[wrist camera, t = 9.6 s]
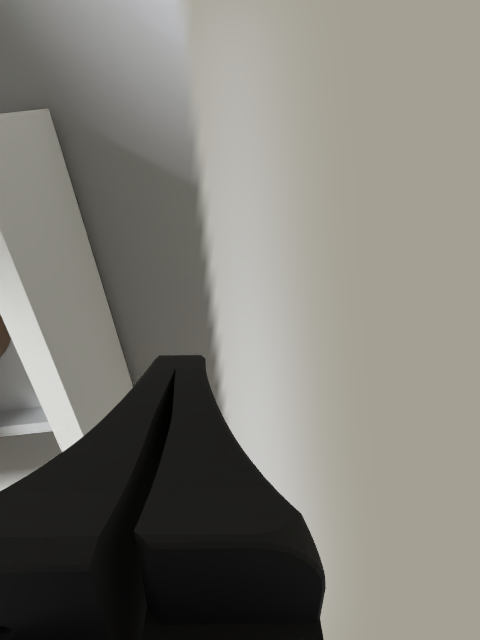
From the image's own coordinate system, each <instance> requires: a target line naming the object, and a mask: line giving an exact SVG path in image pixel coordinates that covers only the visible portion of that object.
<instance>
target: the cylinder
mask: <svg viewBox="0 0 480 640" xmlns="http://www.w3.org/2000/svg"><path fill="white" fill-rule="evenodd" d="M10 340H11V337H10V335H9V333H8V330H7V328H6V326H5V324H4V321H3V319H2V317H1V315H0V357H1V356H2V355H3V354H4V352H5V351H6V350H7V348H8V346H9V344H10Z"/></svg>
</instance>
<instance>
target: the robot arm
mask: <svg viewBox="0 0 480 640" xmlns="http://www.w3.org/2000/svg"><path fill="white" fill-rule="evenodd" d="M324 593H325V574H324V570H323V566H322V563H321V560H320V557H319V553H318V551H317V548H316V545H315V543H314V540H313V538H312V536H311V534H310V531H309V529H308V527H307V525H306V523H305V521H304V519H303V516H302V514H301V513H300V512H299V511H298V510H296V509H295V508H294V507H293V506H292V505H291V504H290V503H289V502H288V501H287V500H286V499H285V498H284V497H283V496H282V495H281V494H280V493H279V492H277V490H276V489H275V488H274V487H273V486H272V485H271V484H270V483H269V482H268V481H267V480H266V479H265V478H264V476H263V475H262V474H261V472H259V470H258V469H257V468H256V466H255V465H254V464H253V462H252V461H251V460H250V459H249V457H248V456H247V455H246V454H245V452H244V451H243V449H242V448H241V446H240V445H239V443H238V442H237V440H236V439H235V437H234V436H233V434H232V432H231V431H230V429H229V427H228V425H227V424H226V422H225V420H224V418H223V416H222V414H221V412H220V410H219V408H218V405H217V403H216V401H215V398H214V396H213V393H212V391H211V388H210V385H209V382H208V378H207V374H206V365H205V358H204V357H203V356H201V355H179V356H158V357H157V358H156V359H155V360H154V362H153V363H152V364H151V366H150V367H149V368H148V369H147V371H146V372H145V373H144V375H143V376H142V377H141V378H140V379H139V381H138V382H137V383H136V384H135V385H134V386H133V388H132V389H131V390H130V391H129V392H128V393H127V394H126V396H125V397H124V398H123V399H122V400H121V401H120V402H119V403H118V404H117V405H116V406H115V407H114V408H113V409H112V410H111V411H110V412H109V413H108V414H107V415H106V416H105V417H104V418H103V419H102V420H101V421H100V422H99V423H98V424H97V425H96V426H95V427H94V428H92V429H91V430H90V431H89V432H88V433H87V434H85V435H84V436H83V437H82V438H81V439H79V440H78V441H77V442H76V443H74V444H73V445H72V446H70V447H69V448H67V449H66V450H65V451H63V452H62V453H60V454H59V455H58V456H56V457H55V458H53V459H52V460H51V461H49V462H48V463H47V464H45V465H43V466H42V467H40V468H39V469H37V470H36V471H34V472H32V473H31V474H29V475H28V476H26V477H24V478H23V479H21V480H19V481H18V482H16V483H14V484H13V485H11V486H9V487H7V488H6V489H4V490H2V491H0V640H323V634H322V628H321V622H320V614H321V609H322V603H323V598H324Z"/></svg>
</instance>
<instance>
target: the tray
mask: <svg viewBox="0 0 480 640" xmlns="http://www.w3.org/2000/svg"><path fill="white" fill-rule="evenodd" d="M0 315H1V317H2V319H3V321H4V324H5V326H6V328H7V330H8V333H9V335H10V337H11V340H10V344H9V346H8V348H7V350H6V351H5V352H4V354H3V355H2V356H1V357H0V437H4V436H13V435H22V434H31V433H40V432H49V431H53V433H54V435H55V438H56V440H57V442H58V444H59V447H60V449H61V451H62V452H63V451H65V450H66V449H67V448H69V447H70V446H72V445H73V444H74V443H76V442H77V441H78V440H79V439H81V438H82V437H83V436H84V435H85V434H87V433H88V432H89V431H90V430H91V429H92V428H94V427H95V426H96V425H97V424H98V423H99V422H100V421H101V420H102V419H103V418H104V417H105V416H106V415H107V414H108V413H109V412H110V411H111V410H112V409H113V408H114V407H115V406H116V405H117V404H118V403H119V402H120V401H121V400H122V399H123V398H124V397H125V396H126V394H127V393H128V392H129V391H130V390H131V389H132V388H133V385H132V381H131V378H130V375H129V372H128V368H127V365H126V362H125V358H124V355H123V352H122V349H121V345H120V342H119V339H118V335H117V332H116V329H115V326H114V322H113V319H112V316H111V312H110V309H109V306H108V302H107V299H106V296H105V293H104V289H103V286H102V283H101V279H100V276H99V273H98V270H97V266H96V263H95V260H94V256H93V253H92V250H91V247H90V243H89V240H88V237H87V233H86V230H85V227H84V223H83V220H82V217H81V214H80V210H79V207H78V204H77V200H76V197H75V194H74V191H73V187H72V184H71V181H70V177H69V174H68V171H67V168H66V164H65V161H64V158H63V154H62V151H61V148H60V144H59V141H58V138H57V135H56V131H55V128H54V125H53V121H52V118H51V115H50V112H49V108H48V109H39V110H29V111H19V112H9V113H0Z"/></svg>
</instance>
